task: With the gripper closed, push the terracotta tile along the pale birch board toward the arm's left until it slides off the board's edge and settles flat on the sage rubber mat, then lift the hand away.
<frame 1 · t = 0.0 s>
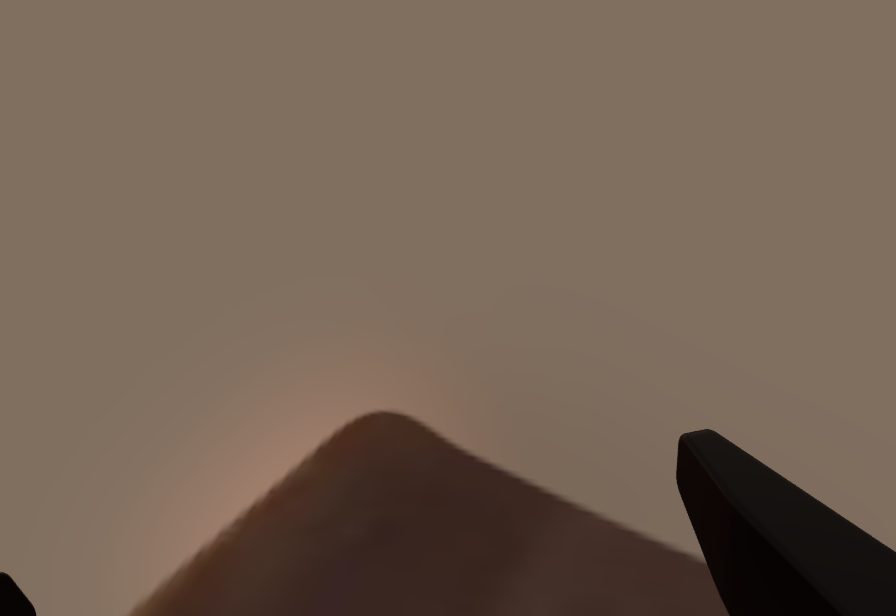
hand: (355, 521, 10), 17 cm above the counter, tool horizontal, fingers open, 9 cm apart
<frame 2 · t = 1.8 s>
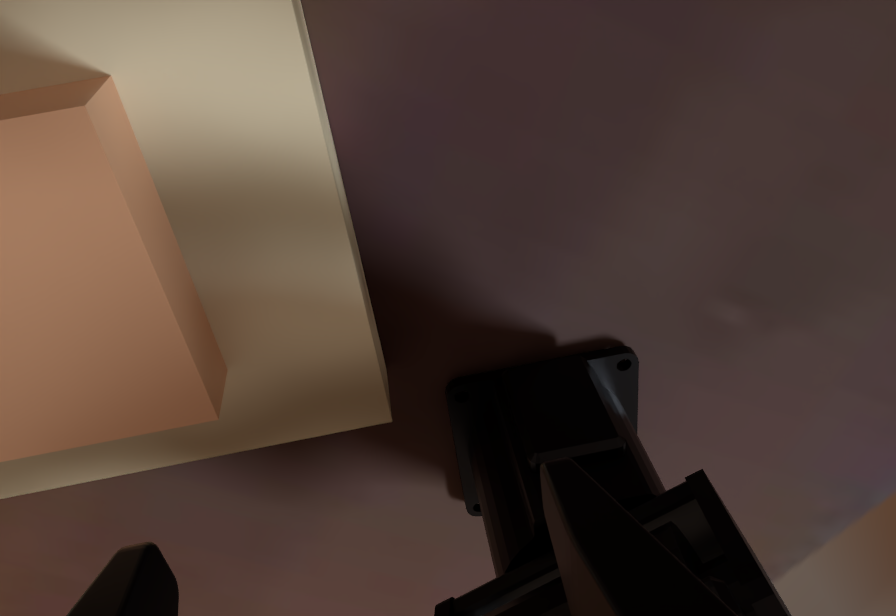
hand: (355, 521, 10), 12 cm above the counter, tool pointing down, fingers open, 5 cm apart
tile: (51, 264, 17), point 2 cm above the counter, touching board
board: (99, 214, 19), on the counter
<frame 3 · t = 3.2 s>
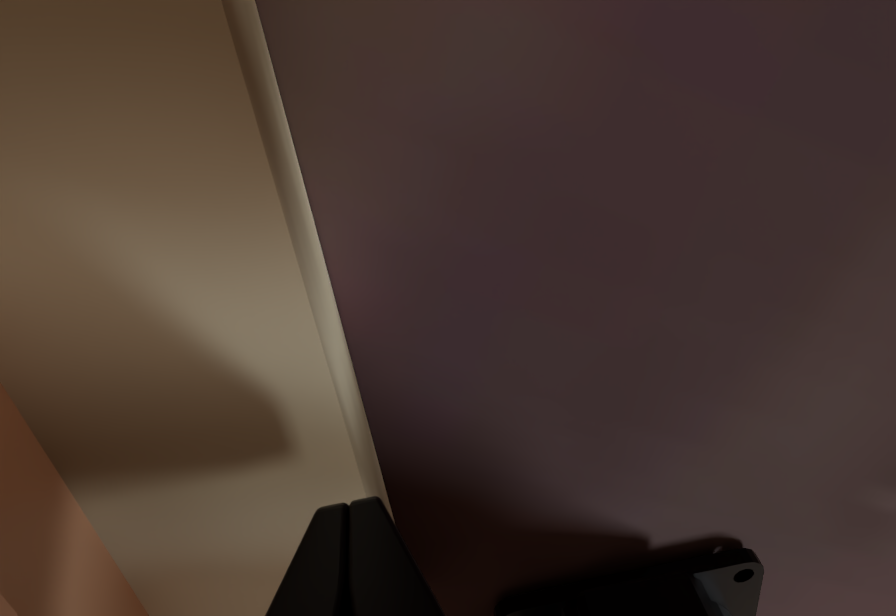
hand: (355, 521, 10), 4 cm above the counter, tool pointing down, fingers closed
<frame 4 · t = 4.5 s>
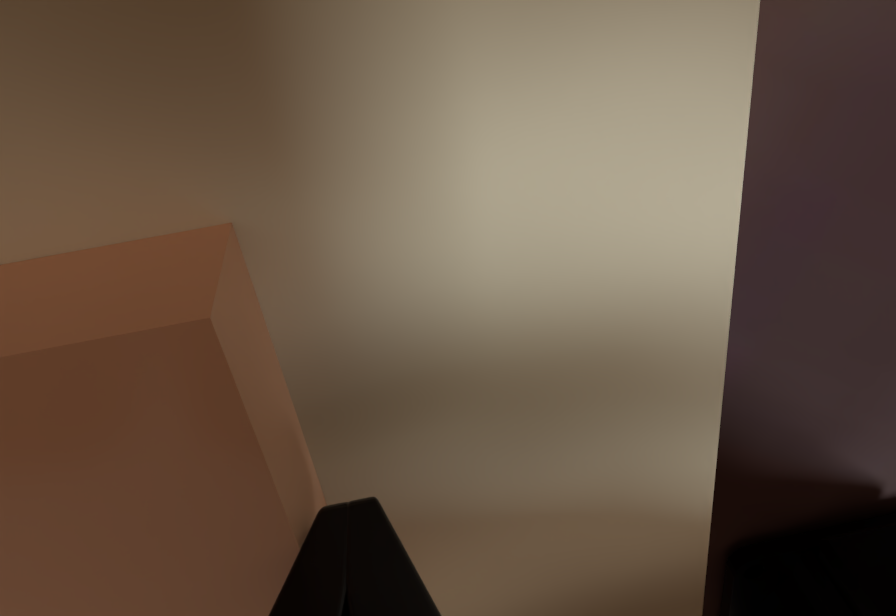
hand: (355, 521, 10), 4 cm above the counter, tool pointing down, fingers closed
tile: (108, 501, 11), point 3 cm above the counter, touching gripper
board: (305, 364, 13), on the counter
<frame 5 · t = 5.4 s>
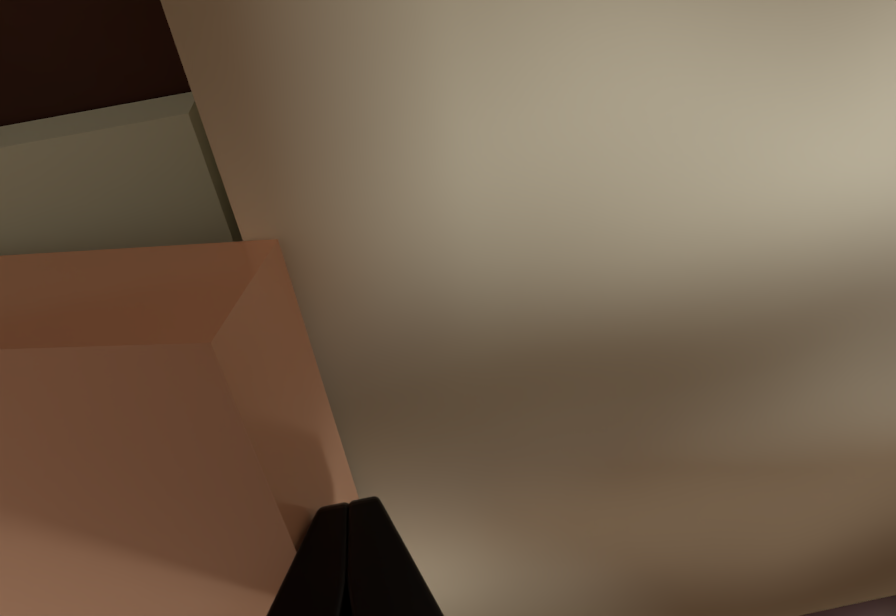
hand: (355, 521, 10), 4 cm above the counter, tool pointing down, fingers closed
tile: (168, 470, 11), point 2 cm above the counter, tilted 16°, touching gripper
board: (673, 291, 13), on the counter
mat: (40, 416, 13), on the counter
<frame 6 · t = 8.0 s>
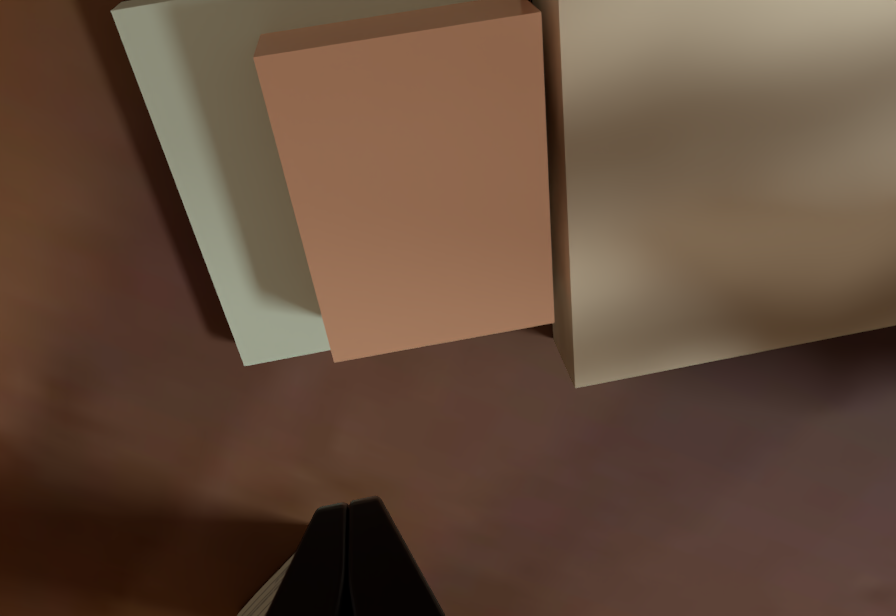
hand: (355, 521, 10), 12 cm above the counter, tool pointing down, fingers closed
skincare box: (321, 579, 29), on the counter
tile: (416, 175, 19), point 1 cm above the counter, touching mat
board: (770, 94, 20), on the counter
mat: (359, 169, 19), on the counter
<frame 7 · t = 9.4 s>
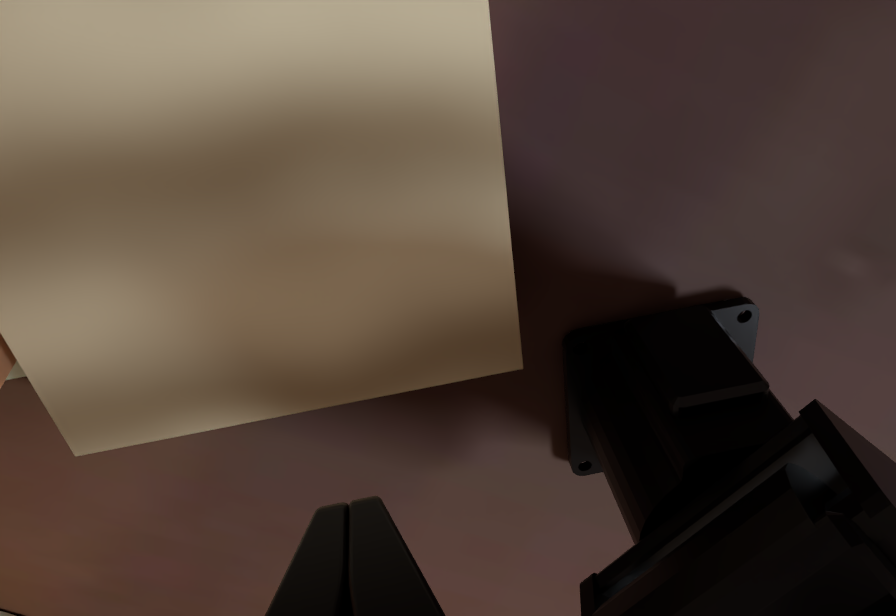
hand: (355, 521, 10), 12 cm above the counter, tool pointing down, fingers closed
board: (238, 151, 19), on the counter
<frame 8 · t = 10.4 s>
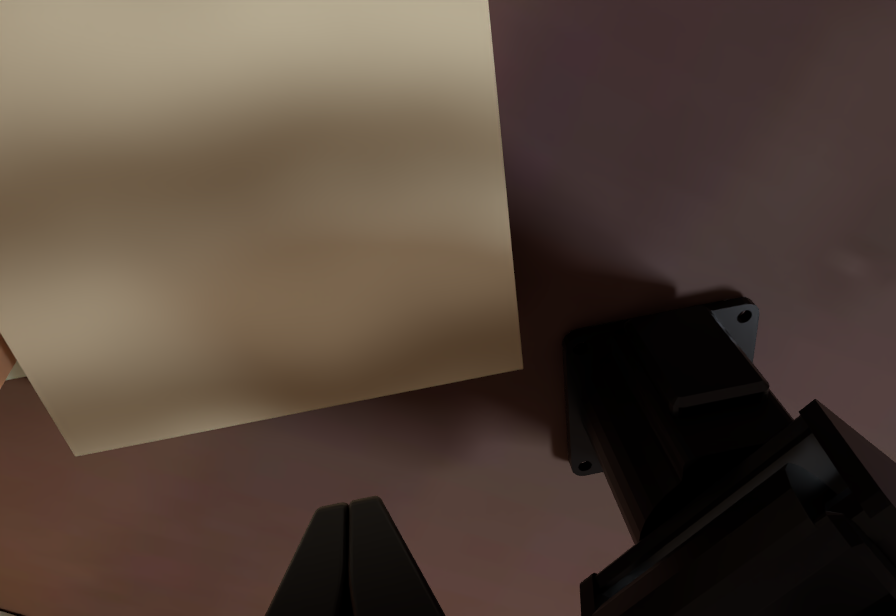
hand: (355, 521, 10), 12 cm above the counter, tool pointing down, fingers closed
board: (238, 151, 19), on the counter
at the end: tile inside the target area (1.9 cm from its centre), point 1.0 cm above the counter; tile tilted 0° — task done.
